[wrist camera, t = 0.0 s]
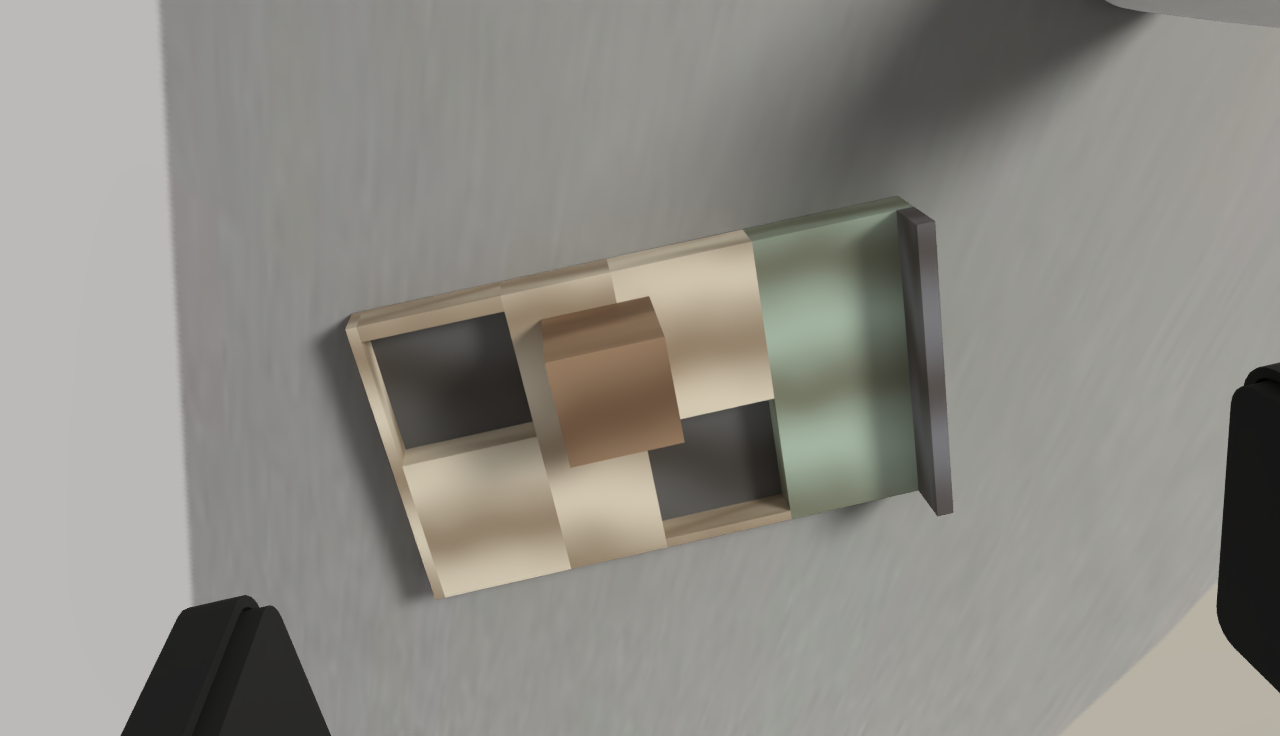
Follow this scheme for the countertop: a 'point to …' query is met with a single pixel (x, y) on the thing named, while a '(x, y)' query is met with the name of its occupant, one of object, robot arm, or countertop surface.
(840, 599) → the countertop surface
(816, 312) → the trap board
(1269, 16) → the milk bottle
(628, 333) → the walnut block
